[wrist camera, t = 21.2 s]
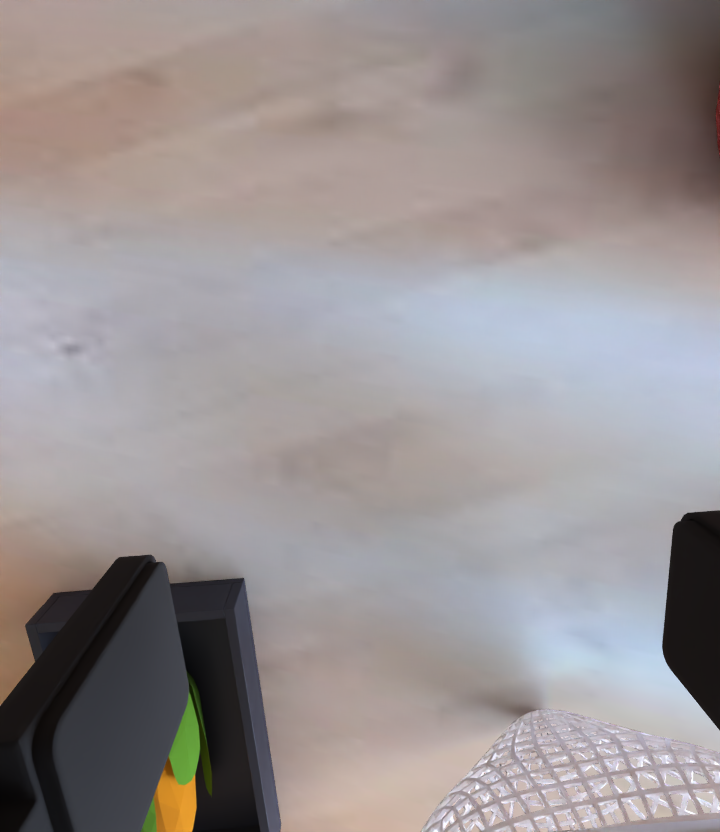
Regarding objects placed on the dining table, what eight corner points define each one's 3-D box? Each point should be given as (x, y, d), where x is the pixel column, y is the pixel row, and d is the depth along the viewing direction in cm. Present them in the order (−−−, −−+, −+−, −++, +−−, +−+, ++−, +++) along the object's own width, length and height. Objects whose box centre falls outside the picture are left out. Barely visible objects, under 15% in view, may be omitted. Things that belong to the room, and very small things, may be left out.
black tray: (117, 836, 51) (97, 885, 47) (53, 592, 44) (24, 625, 40) (281, 824, 51) (275, 870, 47) (244, 577, 44) (234, 608, 40)
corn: (161, 692, 36) (211, 902, 42) (199, 621, 44) (237, 807, 49) (57, 697, 37) (119, 903, 42) (111, 625, 44) (159, 809, 50)
